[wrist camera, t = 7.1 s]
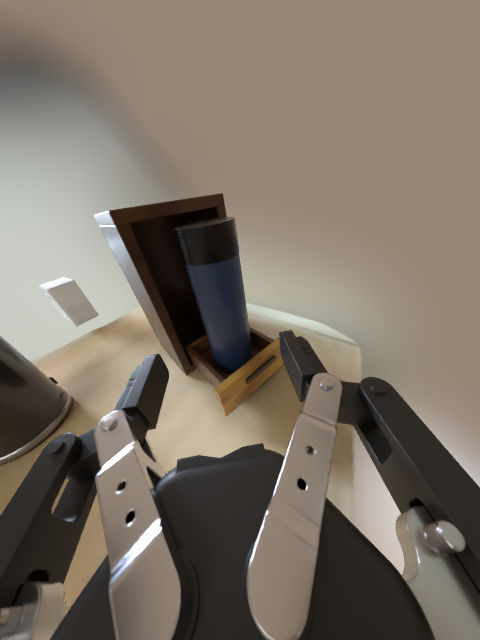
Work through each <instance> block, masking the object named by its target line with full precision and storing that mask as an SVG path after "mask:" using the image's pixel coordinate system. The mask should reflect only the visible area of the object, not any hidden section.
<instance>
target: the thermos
mask: <svg viewBox="0 0 480 640" xmlns="http://www.w3.org/2000/svg"><path fill="white" fill-rule="evenodd" d="M173 230H174V234H175V237H176V240H177V243H178V246H179V249H180V253H181V256H182V259H183V262H184V264H185V267H186V270H187V273H188V276H189V280H190V283H191V286H192V289H193V292H194V295H195V299H196V302H197V305H198V308H199V311H200V315H201V318H202V321H203V324H204V327H205V331H206V334H207V337H208V340H209V343H210V346H211V350H212V353H213V356H214V359H215V362H216V365H217V367H218V369H219V370H221V371H222V372H225V373H229V374H233V373H234V372H236V371H237V370H238V369H240V368H241V367H242V366H243V365H245V364H246V363H247V362H248V361H250V360H251V359H252V358H253V351H252V344H251V337H250V330H249V322H248V315H247V308H246V301H245V294H244V286H243V279H242V272H241V265H240V257H239V246H238V240H237V232H236V224H235V218H234V217H223V218H215V219H208V220H202V221H197V222H192V223H188V224H184V225H180V226H177V227H175V228H173Z"/></svg>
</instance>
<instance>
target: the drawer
mask: <svg viewBox="0 0 480 640" xmlns="http://www.w3.org/2000/svg"><path fill="white" fill-rule="evenodd" d="M249 330H250V337H251V344H252V351H253V358H252V359H251V360H250V361H248V362H247V363H246V364H245V365H243V366H242V367H241V368H240V369H238V370H237V371H236V372H234V373H233V374H229V373H225V372H222V371H221V370H219V369H218V367H217V365H216V362H215V359H214V356H213V353H212V350H211V346H210V343H209V340H208V337H207V334H206V335H205V336H203V337H201V338H200V339H198V340H196V341H195V342H193V343H191V344H190V345H188V346H186V347H185V348H186V350H187V353H188V355H189V357H190V360H191V362H192V363H193V364H194V365H195V366H196V368H197V369H198V370H199V371H200V372H201V373H202V374H203V375H204V376H205V377H206V378H207V379H208V380H209V381H210V382H211V384H212V385H213V386H214V387H215V388H214V392H215V394H216V397H217V400H218V402H219V405H220V408H221V411H222V412H223V413H224V414H225V416H228V415H229V414H230V413H231V412H232V411H233V410H234V409H235V408H236V407H237V406H238V405H240V404H241V403H242V402H243V401H244V400H245V399H246V398H247V397H248V396H249V395H250V394H251V393H253V392H254V391H255V390H256V389H257V388H258V387H259V386H260V385H261V384H262V383H263V382H264V381H265V380H267V379H268V378H269V377H270V376H271V375H272V374H273V373H274V372H275V371H276V370H277V369H278V368H280V367H281V366H282V365H283V364H284V362H283V360H282V357H281V353H280V337H279V338H277V339H276V340H275V341H274V340H273V339H271V338H269V337H267V336H265V335H263V334H262V333H260V332H258V331H256V330H254V329H252V328H251V327H249Z"/></svg>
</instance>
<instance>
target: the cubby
mask: <svg viewBox="0 0 480 640" xmlns="http://www.w3.org/2000/svg"><path fill="white" fill-rule="evenodd" d="M94 217H95V218H96V221H97V223H98V224H99V226H100V228H101V230H102V232H103V234H104V236H105V238H106V239H107V242H108V244H109V246H110V247H111V249H112V251H113V253H114V255H115V257H116V259H117V261H118V263H119V265H120V267H121V269H122V271H123V272H124V274H125V276H126V278H127V280H128V282H129V284H130V286H131V288H132V290H133V291H134V294H135V296H136V298H137V299H138V301H139V303H140V305H141V307H142V309H143V311H144V313H145V315H146V317H147V319H148V321H149V323H150V324H151V326H152V328H153V330H154V332H155V334H156V336H157V338H158V340H159V342H160V344H161V345H162V346H163V348H164V349H165V350H166V351H167V352H168V354H169V355H170V356H171V357H172V359H173V360H174V361H175V362H176V363H177V365H178V366H179V367H180V368H181V369H182V371H183V372H184V373H185V374H186V375H188V374H189V373H191V372H192V371H194V370H195V369H196V366H195V365H194V364H193V363H192V362H191V360H190V357H189V355H188V353H187V350H186V348H185V347H186V346H188V345H190V344H191V343H193V342H195V341H196V340H198V339H200V338H201V337H203V336H205V335H206V331H205V327H204V324H203V321H202V318H201V315H200V311H199V308H198V305H197V302H196V299H195V295H194V292H193V289H192V286H191V283H190V280H189V276H188V273H187V270H186V267H185V264H184V262H183V259H182V256H181V253H180V249H179V246H178V243H177V240H176V237H175V234H174V230H173V228H175V227H177V226H180V225H184V224H188V223H192V222H197V221H202V220H208V219H215V218H223V217H226V210H225V205H224V198H223V194H222V193H221V194H214V195H208V196H202V197H195V198H188V199H182V200H175V201H169V202H162V203H156V204H150V205H143V206H136V207H129V208H123V209H116V210H110V211H106V212H103V213H100V214H97V215H94Z"/></svg>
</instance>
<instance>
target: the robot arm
mask: <svg viewBox="0 0 480 640" xmlns="http://www.w3.org/2000/svg"><path fill="white" fill-rule="evenodd" d="M280 353H281V357H282V360H283V362H284V364H285V367H286V369H287V372H288V374H289V376H290V379H291V381H292V384H293V386H294V388H295V391H296V393H297V396H298V398H299V400H300V402H304V401H305V403H304V406H303V409H302V411H301V412H300V414H299V416H298V419H297V422H296V425H295V428H294V431H293V435H292V438H291V441H290V444H289V447H288V450H287V453H286V456H285V457H284V456H283V455H281V454H279V453H277V452H275V451H271V450H266V449H264V446H263V443H261V444H256V445H251V446H246V447H241V448H240V449H238V450H236V451H234V452H232V453H230V454H228V455H226V456H224V457H222V458H215V457H208V456H200V455H198V456H193V457H187V458H182V459H178V462H177V467H176V468H174V469H172V470H171V471H170V472H168V473H167V474H166V473H165V472H164V470H163V469H162V468H161V466H160V464H159V462H158V460H157V458H156V456H155V453H154V451H153V449H152V447H151V445H150V443H149V440H148V438H147V437H146V433H147V430H150V429H155V428H156V424H157V421H158V417H159V413H160V409H161V406H162V402H163V398H164V394H165V391H166V387H167V383H168V379H169V371H168V369H167V367H166V365H165V363H164V361H163V360H162V358H161V356H160V355H159V354H155V355H150V356H146V357H145V358H144V361H143V363H142V365H139V366H138V367H137V368H136V369H135V370H134V371H133V372H132V374H131V377H130V379H129V381H128V383H127V385H126V387H125V389H124V391H123V393H122V395H121V397H120V399H119V401H118V403H117V405H116V407H115V409H114V411H113V412H111V413H109V414H107V415H106V416H105V417H103V418H102V419H101V420H100V421H99V423H98V424H97V426H96V427H95V428H94V429H92V430H90V431H88V432H86V433H84V434H82V435H79V436H76V435H75V434H74V433H71V432H68V433H64V434H62V435H60V436H58V437H57V438H55V439H54V440H53V441H51V442H50V443H49V444H48V445H47V446H46V447H45V449H44V450H43V451H42V453H41V454H40V456H39V457H38V459H37V460H36V462H35V463H34V465H33V467H32V468H31V470H30V471H29V473H28V474H27V476H26V477H25V479H24V481H23V482H22V484H21V485H20V487H19V488H18V490H17V491H16V493H15V494H14V496H13V498H12V499H11V501H10V502H9V504H8V505H7V507H6V508H5V510H4V512H3V513H2V515H1V516H0V640H480V488H479V486H478V485H477V484H476V483H475V482H474V481H473V479H472V478H471V477H470V476H469V475H468V474H467V473H466V471H465V470H464V469H463V468H462V467H461V466H460V465H459V463H458V462H457V461H456V460H455V459H454V458H453V456H452V455H451V454H450V453H449V452H448V450H447V449H446V448H445V447H444V446H443V445H442V444H441V442H440V441H439V440H438V439H437V438H436V437H435V435H434V434H433V433H432V432H431V431H430V430H429V429H428V428H427V426H426V425H425V424H424V423H423V422H422V421H421V419H420V418H419V417H418V416H417V415H416V414H415V412H414V411H413V410H412V409H411V408H410V406H409V405H408V404H407V403H406V402H405V401H404V400H403V398H402V397H401V396H400V395H399V394H398V393H397V391H396V390H395V389H394V388H393V387H392V386H391V385H390V384H389V383H387V382H386V381H384V380H382V379H379V378H374V377H368V378H365V379H363V380H362V381H361V383H351V382H343V381H340V380H338V379H337V378H336V377H335V376H333V375H331V374H329V373H328V372H327V370H326V369H325V367H324V366H323V364H322V363H321V361H320V360H319V358H318V357H317V355H316V353H315V352H314V350H313V349H312V348H311V346H310V344H309V343H308V341H307V340H305V339H304V338H303V337H301V336H300V337H295V335H294V333H293V332H292V330H289V331H284V332H280ZM56 383H58V382H57V381H55V380H54V379H53V378H52V377H51V378H48V377H47V376H46V375H45V374H44V373H43V372H41V371H40V370H39V369H38V368H37V367H36V366H35V365H33V364H32V363H31V362H30V361H29V360H27V359H26V358H25V357H24V356H23V355H22V354H21V353H19V352H18V351H17V350H16V349H15V348H14V347H12V346H11V345H10V344H9V343H8V342H7V341H6V340H4V339H3V338H2V337H1V336H0V465H1V464H4V463H7V462H9V461H12V460H14V459H16V458H18V457H20V456H21V455H23V454H25V453H26V452H28V451H30V450H31V449H32V448H34V447H35V446H37V445H38V444H39V443H41V442H42V441H43V440H44V439H46V438H47V437H48V436H49V435H50V434H51V433H52V432H53V431H54V430H55V429H56V428H57V427H58V426H59V425H60V424H61V422H62V421H63V420H64V418H65V417H66V415H67V414H68V412H69V410H70V408H71V405H72V398H71V396H70V395H69V394H68V393H67V392H66V391H64V390H63V389H62V388H60V387H59V386H57V385H56ZM337 422H338V423H344V424H350V425H353V426H354V428H355V430H356V431H357V433H358V435H359V437H360V439H361V441H362V442H363V444H364V446H365V448H366V450H367V452H368V453H369V455H370V457H371V459H372V461H373V463H374V464H375V466H376V468H377V470H378V472H379V474H380V475H381V477H382V479H383V481H384V483H385V485H386V487H387V488H388V490H389V492H390V494H391V496H392V497H393V499H394V501H395V503H396V505H397V507H398V508H399V510H400V512H401V515H400V516H399V517H398V519H397V520H396V533H397V537H398V539H399V542H400V544H401V547H402V550H403V554H404V560H405V567H404V572H403V574H402V575H401V574H400V573H399V572H398V570H397V569H396V568H395V567H394V566H393V565H392V563H391V562H390V561H389V560H387V558H386V557H385V556H384V555H383V554H382V553H381V552H380V551H379V550H378V549H377V548H376V547H375V546H374V545H373V544H372V543H371V542H370V541H369V540H368V539H367V538H366V537H365V536H364V535H363V534H362V533H361V532H360V531H359V530H358V529H357V528H356V527H355V526H354V525H353V524H352V523H351V522H350V521H349V520H348V519H347V518H346V517H345V516H344V515H343V514H342V513H341V512H340V511H339V510H338V509H337V508H336V507H335V506H334V505H333V504H332V503H331V502H330V501H329V500H328V499H327V498H326V493H327V486H328V480H329V474H330V468H331V461H332V455H333V449H334V443H335V437H336V429H337V427H336V423H337ZM66 478H67V479H69V481H68V483H67V485H66V487H65V489H64V491H63V494H62V496H61V498H60V500H59V502H58V504H57V506H56V508H55V510H54V512H53V514H52V513H51V510H52V506H53V503H54V501H55V499H56V497H57V495H58V493H59V491H60V489H61V487H62V485H63V483H64V481H65V479H66ZM96 493H97V494H98V500H99V505H100V511H101V517H102V523H103V528H104V534H105V540H106V545H107V551H108V555H107V556H106V558H105V559H104V561H103V562H102V563H101V565H100V566H99V568H98V569H97V571H96V572H95V574H94V575H93V576H92V578H91V579H90V581H89V582H88V584H87V585H86V587H85V588H84V590H83V591H82V592H81V594H80V595H79V597H78V598H77V600H76V601H75V603H74V604H73V605H72V607H71V608H70V610H69V611H68V613H67V614H66V616H65V617H64V615H65V612H66V603H65V602H64V596H65V591H64V587H63V583H64V581H65V578H66V575H67V573H68V570H69V567H70V564H71V562H72V559H73V556H74V553H75V551H76V548H77V545H78V543H79V540H80V537H81V534H82V532H83V529H84V526H85V523H86V521H87V518H88V515H89V512H90V510H91V507H92V504H93V502H94V499H95V496H96ZM63 618H64V619H63Z"/></svg>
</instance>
